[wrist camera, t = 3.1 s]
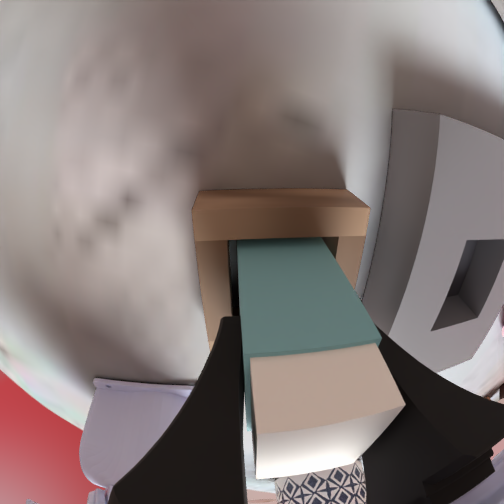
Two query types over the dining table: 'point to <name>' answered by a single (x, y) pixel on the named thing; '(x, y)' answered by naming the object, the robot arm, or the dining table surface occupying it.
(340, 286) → the plug
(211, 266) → the plug holster
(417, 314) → the port block
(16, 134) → the dining table surface
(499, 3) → the square plate
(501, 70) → the dining table surface
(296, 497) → the planter
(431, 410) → the robot arm
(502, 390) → the holster
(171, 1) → the dining table surface
